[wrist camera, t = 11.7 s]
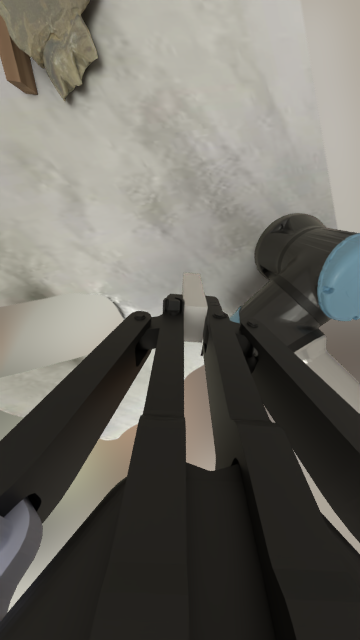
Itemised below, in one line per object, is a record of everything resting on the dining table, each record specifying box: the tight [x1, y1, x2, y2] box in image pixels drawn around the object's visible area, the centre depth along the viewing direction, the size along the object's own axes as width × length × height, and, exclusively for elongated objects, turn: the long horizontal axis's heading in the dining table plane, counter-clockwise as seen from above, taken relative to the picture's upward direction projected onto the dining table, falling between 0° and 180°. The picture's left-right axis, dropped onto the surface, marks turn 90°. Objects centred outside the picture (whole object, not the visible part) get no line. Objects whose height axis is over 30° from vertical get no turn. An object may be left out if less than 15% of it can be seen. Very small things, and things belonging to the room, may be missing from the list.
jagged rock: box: [0, 0, 98, 101], centre depth 24 cm, size 14×10×10 cm
